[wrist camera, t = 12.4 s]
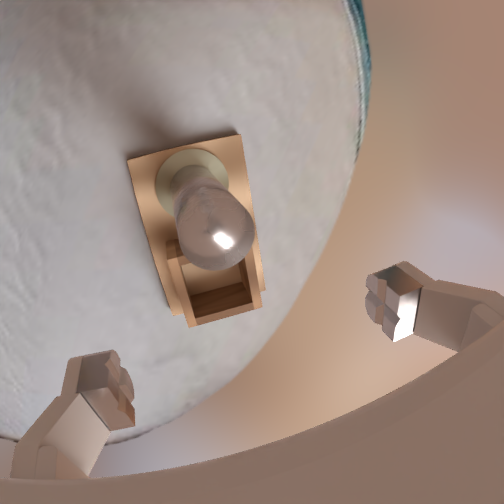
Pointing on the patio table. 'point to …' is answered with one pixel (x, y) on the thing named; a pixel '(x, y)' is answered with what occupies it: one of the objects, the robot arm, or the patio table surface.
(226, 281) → the pocket board
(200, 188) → the peg
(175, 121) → the patio table surface
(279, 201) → the patio table surface
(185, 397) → the patio table surface
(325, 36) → the patio table surface
